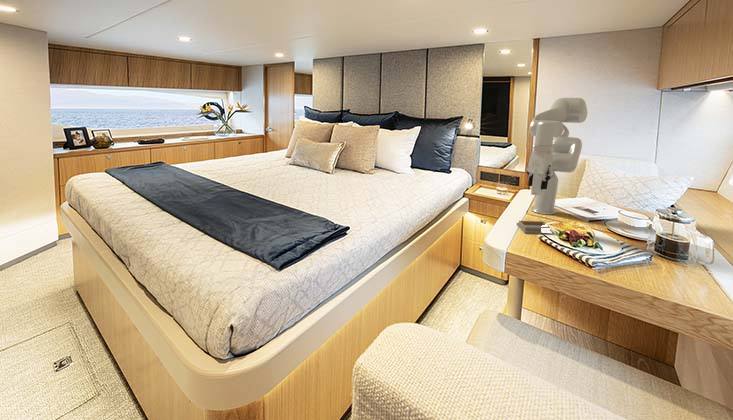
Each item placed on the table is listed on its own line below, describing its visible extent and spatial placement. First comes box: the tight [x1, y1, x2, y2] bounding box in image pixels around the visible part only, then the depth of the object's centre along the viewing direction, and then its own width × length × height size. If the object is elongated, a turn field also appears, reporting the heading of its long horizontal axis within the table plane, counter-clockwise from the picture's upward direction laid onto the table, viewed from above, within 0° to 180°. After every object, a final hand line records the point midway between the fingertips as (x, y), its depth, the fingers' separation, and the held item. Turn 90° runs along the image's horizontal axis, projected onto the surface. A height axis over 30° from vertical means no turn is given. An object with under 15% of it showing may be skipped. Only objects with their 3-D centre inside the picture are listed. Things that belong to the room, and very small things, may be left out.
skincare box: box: [530, 169, 543, 196], centre depth 169 cm, size 6×4×12 cm
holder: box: [516, 220, 551, 235], centre depth 167 cm, size 12×12×2 cm
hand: (537, 187), depth 170 cm, fingers closed on skincare box, 6 cm apart
